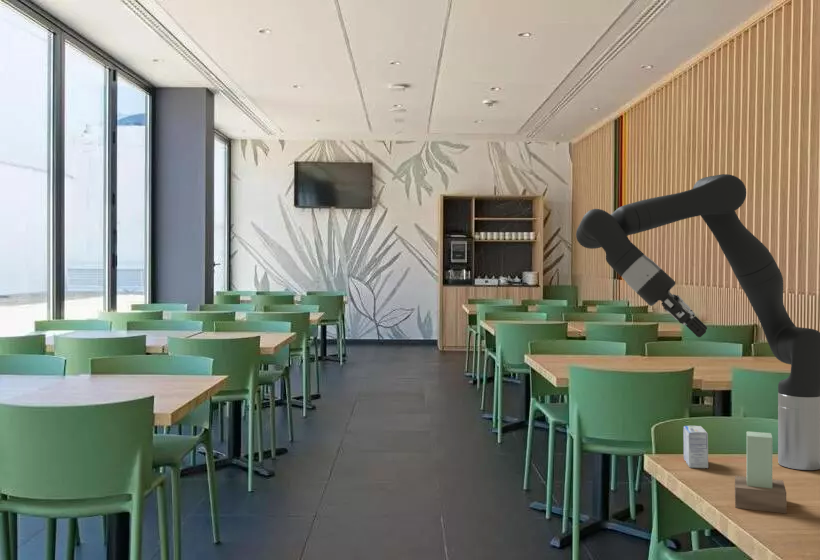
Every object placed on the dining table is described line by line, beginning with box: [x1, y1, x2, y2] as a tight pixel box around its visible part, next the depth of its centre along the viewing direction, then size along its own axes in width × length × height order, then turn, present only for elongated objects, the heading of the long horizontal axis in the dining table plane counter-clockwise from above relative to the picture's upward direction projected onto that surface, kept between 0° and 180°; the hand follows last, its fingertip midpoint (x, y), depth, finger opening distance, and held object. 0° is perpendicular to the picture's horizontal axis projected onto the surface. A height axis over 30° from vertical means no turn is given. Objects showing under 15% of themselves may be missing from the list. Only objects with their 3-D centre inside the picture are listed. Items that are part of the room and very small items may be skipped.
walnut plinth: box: [734, 475, 787, 514], centre depth 146 cm, size 9×9×4 cm
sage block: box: [746, 431, 773, 488], centre depth 145 cm, size 4×4×10 cm
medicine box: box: [682, 425, 709, 469], centre depth 176 cm, size 8×4×9 cm, turn 168°
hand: (703, 333), depth 156 cm, fingers open, 8 cm apart
